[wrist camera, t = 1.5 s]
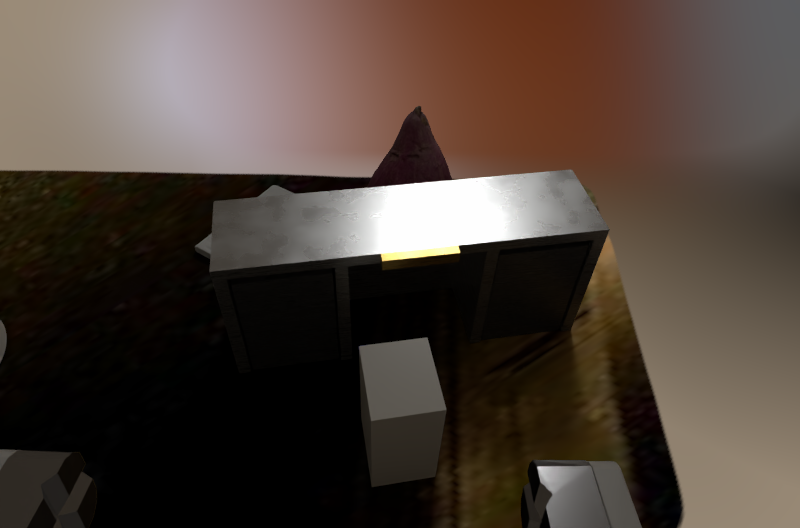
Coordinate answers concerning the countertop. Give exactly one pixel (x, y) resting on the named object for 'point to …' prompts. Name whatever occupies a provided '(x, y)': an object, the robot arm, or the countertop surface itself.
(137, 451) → the countertop surface
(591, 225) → the miniature grey desk
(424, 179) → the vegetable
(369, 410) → the tall grey upright block
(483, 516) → the countertop surface
